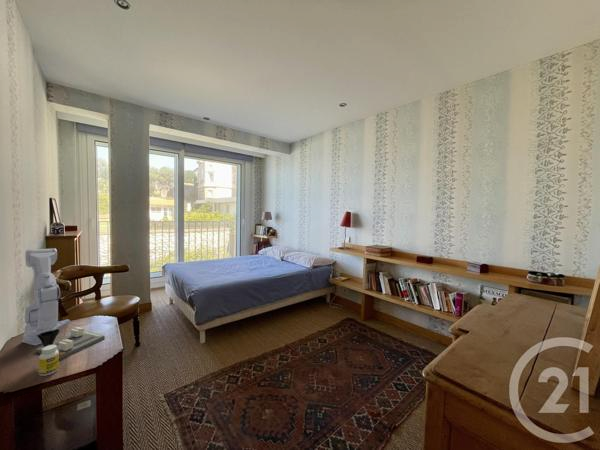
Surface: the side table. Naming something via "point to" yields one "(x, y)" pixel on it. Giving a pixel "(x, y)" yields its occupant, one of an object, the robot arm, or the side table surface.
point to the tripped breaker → (65, 344)
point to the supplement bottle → (48, 360)
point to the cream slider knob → (77, 331)
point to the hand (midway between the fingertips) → (47, 348)
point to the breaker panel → (76, 343)
